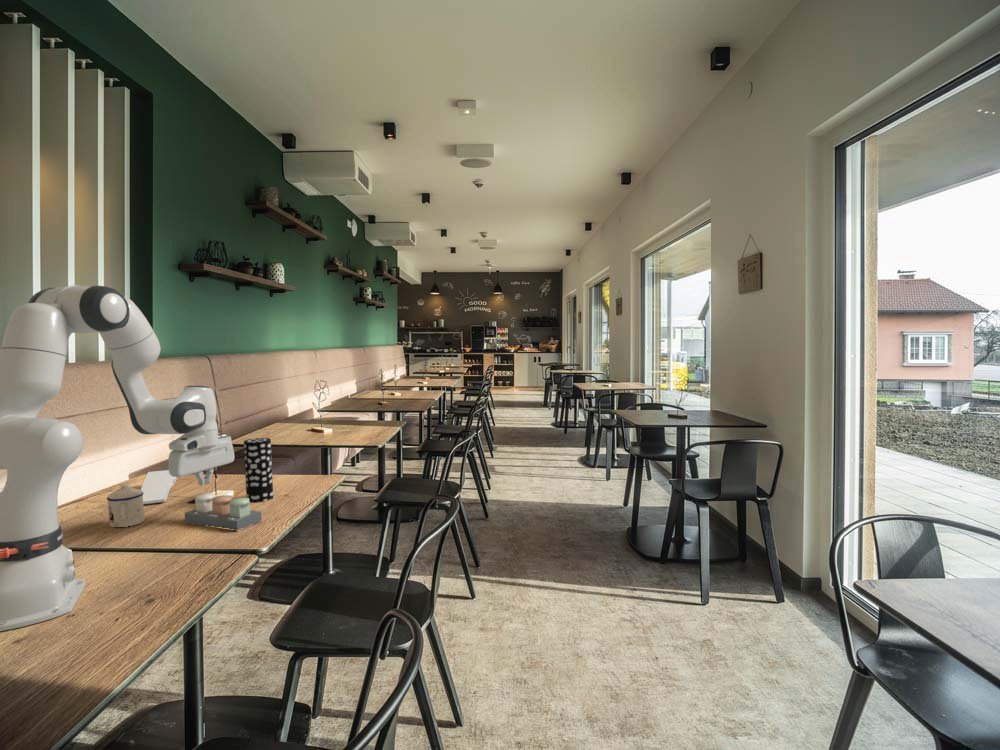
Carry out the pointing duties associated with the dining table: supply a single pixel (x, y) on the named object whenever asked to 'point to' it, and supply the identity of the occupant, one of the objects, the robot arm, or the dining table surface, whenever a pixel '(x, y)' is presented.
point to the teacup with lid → (125, 507)
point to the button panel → (222, 519)
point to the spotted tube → (258, 469)
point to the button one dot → (204, 502)
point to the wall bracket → (157, 486)
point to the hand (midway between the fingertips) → (204, 484)
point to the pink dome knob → (221, 504)
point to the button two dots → (239, 507)
